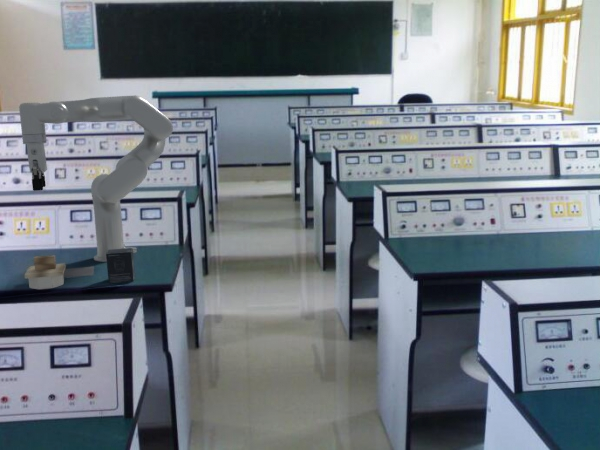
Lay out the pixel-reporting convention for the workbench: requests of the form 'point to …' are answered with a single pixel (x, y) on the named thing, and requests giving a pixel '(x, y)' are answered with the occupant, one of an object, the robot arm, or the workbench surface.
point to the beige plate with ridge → (45, 267)
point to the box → (120, 265)
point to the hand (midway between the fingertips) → (39, 188)
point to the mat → (78, 272)
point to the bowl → (46, 282)
